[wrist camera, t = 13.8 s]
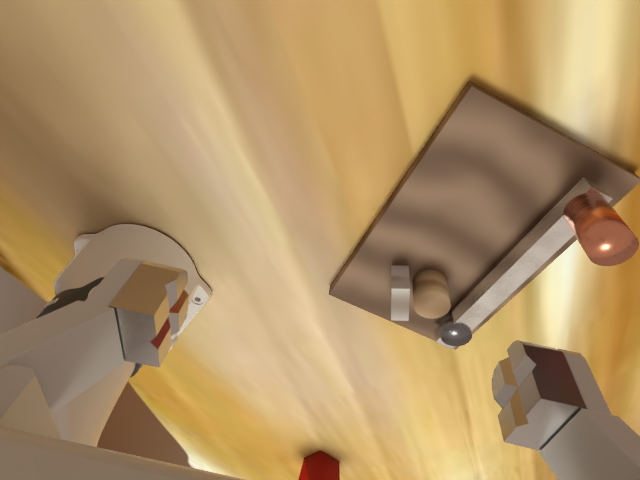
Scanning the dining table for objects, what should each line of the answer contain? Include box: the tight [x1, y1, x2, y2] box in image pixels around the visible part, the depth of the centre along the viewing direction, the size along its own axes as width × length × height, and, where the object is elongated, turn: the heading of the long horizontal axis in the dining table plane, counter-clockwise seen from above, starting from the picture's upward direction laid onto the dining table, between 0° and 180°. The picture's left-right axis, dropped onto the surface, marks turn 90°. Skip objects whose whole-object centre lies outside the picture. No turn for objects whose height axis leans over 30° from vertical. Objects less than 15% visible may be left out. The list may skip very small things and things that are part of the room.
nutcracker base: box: [329, 82, 640, 350], centre depth 45 cm, size 29×19×6 cm, turn 155°
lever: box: [434, 177, 639, 349], centre depth 43 cm, size 24×4×8 cm, turn 156°
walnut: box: [412, 269, 451, 319], centre depth 48 cm, size 4×4×4 cm
